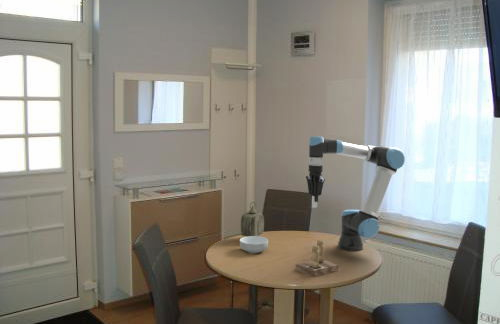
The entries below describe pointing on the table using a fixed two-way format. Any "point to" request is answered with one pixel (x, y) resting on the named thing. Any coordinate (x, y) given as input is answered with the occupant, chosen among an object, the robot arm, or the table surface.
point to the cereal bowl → (253, 244)
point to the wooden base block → (323, 264)
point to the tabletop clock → (252, 223)
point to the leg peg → (315, 257)
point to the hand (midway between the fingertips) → (314, 207)
